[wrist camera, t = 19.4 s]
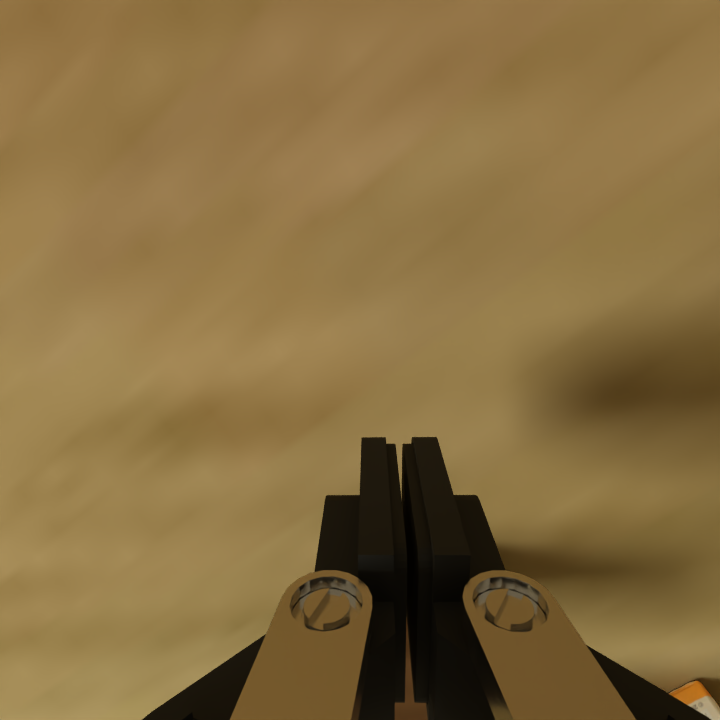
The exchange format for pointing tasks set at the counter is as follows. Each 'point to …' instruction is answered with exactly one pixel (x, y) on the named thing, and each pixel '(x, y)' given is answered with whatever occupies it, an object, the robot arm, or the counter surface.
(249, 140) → the counter surface
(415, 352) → the counter surface
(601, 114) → the counter surface
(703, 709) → the supplement box
